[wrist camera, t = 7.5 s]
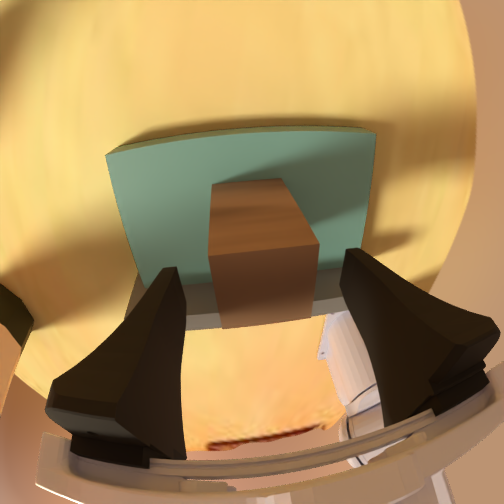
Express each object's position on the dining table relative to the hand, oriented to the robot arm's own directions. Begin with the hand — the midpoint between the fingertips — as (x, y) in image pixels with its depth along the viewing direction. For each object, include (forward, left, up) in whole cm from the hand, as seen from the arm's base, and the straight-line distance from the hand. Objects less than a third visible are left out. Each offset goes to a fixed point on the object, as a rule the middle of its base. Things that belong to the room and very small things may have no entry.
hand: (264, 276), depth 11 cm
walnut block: (0, 0, -6) cm, 6 cm away
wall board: (-1, 0, -8) cm, 8 cm away
